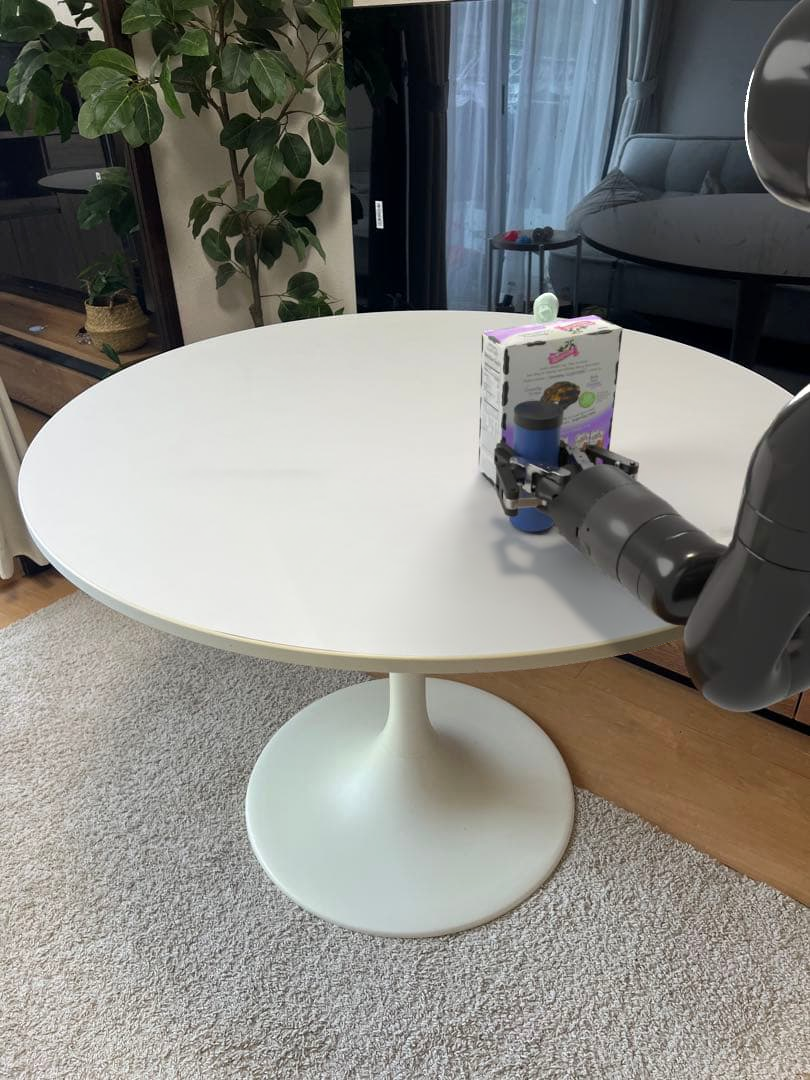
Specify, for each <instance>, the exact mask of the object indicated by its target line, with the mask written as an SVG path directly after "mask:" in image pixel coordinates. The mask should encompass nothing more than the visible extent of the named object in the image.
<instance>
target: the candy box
mask: <svg viewBox="0 0 810 1080" xmlns="http://www.w3.org/2000/svg"><path fill="white" fill-rule="evenodd" d="M623 330H624V329H623V327H622V326H619V325H616V324H615V323H612V322H611V321H608V320H605V319H603V318H601V317H600V316H597V315H595V314H592V315H587V316H580V317H575V318H568V319H561V320H555V321H554V322H546V323H540V324H535V323H534V324H527V325H526V324H525V325H519V326H513V327H506V328H500V329H499V328H498V329H492V330H485V331H482V332H481V355H480V356H481V358H480V359H481V360H480V398H479V399H480V400H479V433H478V434H479V435H478V436H479V439H478V466H477V467H478V471H479V472H480V473H481V474H482V475H483V477H485V479H486V480H487V481H488V482H489V483H490V484H491V485H492V487H494V488H495V483H496V465H495V464H494V449H496V445H497V443H502V442H505V443H506V444H507V445H509V446H510V447H511V448H512V449H513V440H514V421H513V418H514V408H515V406H516V405H518V404H520V403H522V402H527V401H548V402H552V403H555V404H558V405H560V406H561V407H562V408H563V410H564V414H563V423H562V425H561V437H560V439H561V440H562V441H563V442H564V443H566V444H568V445H575V446H577V447H578V448H579V449H580V450H583V449H585V448H586V446H587V445H596V446H599V447H601V448H604V449H606V450H609V451H610V447H611V446H610V445H611V438H612V429H613V420H614V409H615V400H616V391H617V384H618V383H617V382H618V375H619V363H620V357H621V347H622V338H623ZM601 464H603V462H602V460H601V459H600V458H598V457H597V465H601Z"/></svg>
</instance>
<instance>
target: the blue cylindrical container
mask: <svg viewBox="0 0 810 1080" xmlns="http://www.w3.org/2000/svg"><path fill="white" fill-rule="evenodd" d="M563 414H564V410H563V408H562V407H561V406H560V405H558V404H555V403H552V402H548V401H527V402H522V403H520V404H518V405H516V406H515V408H514V418H513V421H514V440H513V449H514V450H515V451H516V452H517V453H518V454H520V455H521V457H522V458H524V459H526V460H529V461H531V462H533V461H535V460H540V461H542V462H544V463H547V464H549V465H551V466H554V467H556V468H558V461H559V449H560V437H561V425H562V423H563ZM525 476H526V474H525V472H524V471H523V476H522V477H524V478H525ZM509 522H510V524H511V525H512V526H513V527H515V528H516V529H519V530H521V531H525V532H542V531H545V530H547V529H550V528H551V527H552V526H553V524H554V521H553V519H552V518H551V517H550V516H548V515H546V514H543V513H541V512H539V511H537V510H536V508H535V507H529V508H519V513H518V515H517V516H514V517H510V516H509Z"/></svg>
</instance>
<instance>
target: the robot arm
mask: <svg viewBox="0 0 810 1080" xmlns="http://www.w3.org/2000/svg"><path fill="white" fill-rule="evenodd" d="M745 101H746V102H745V111H744V124H745V125H744V131H745V141H746V147H747V152H748V157H749V160H750V163H751V166H752V168H753V171H754V173H755V175H756V176H757V179H758V180H759V181H760V183H761V185H762V186H763V188H764V189H765V191H767V192H768V193H769V195H771V196H772V197H773V198H774V199H775V201H776V202H779V203H780V204H782V205H785V206H787V207H789V208H791V209H794V210H796V211H799V212H803V213H808V214H810V0H800V1H799V2H798V3H796V4H795V5H794V6H793V7H792V8H791V9H790V10H789V11H788V13H786V15H784V17H783V18H782V19H781V21H780V22H779V23H778V24H777V26H776V27H775V28H774V30H773V31H772V33H771V35H770V36H769V38H768V40H767V41H766V43H765V44H764V46H763V47H762V50H761V52H760V55H759V57H758V59H757V61H756V64H755V66H754V68H753V71H752V74H751V77H750V81H749V86H748V89H747V95H746V100H745ZM597 457H598V458H600V459H601V460H602V462H603V464H601V465H597ZM748 461H749V462H748V465H747V468H746V472H745V477H744V481H743V485H742V490H741V494H740V499H739V502H738V503H739V504H738V508H737V511H736V517H735V522H734V527H733V532H732V537H731V540H730V541H729V543H728V545H726V544H724V543H723V544H722V543H720V542H718V541H717V540H716V539H715V538H714V537H712V536H711V535H709V534H707V533H706V532H704V530H702V529H701V528H699V527H697V526H696V525H695V524H693V522H690V521H689V520H687V519H686V518H685V517H683V515H681V514H680V512H678V511H677V509H676V508H674V506H672V504H670V503H669V502H668V501H667V500H665V499H664V498H662V497H661V496H659V495H658V494H657V493H655V492H654V491H652V490H651V489H650V488H648V487H647V486H646V485H644V484H643V483H641V482H640V481H639V480H638V474H639V468H640V463H639V462H638V461H636V460H633V459H631V458H628V457H626V456H623V455H620V454H618V453H616V452H614V451H611V450H610V449H609V450H606V449H604V448H601V447H599V446H596V445H587V446H586V448H585V449H583V450H580V449H579V448H578V447H577V446H575V445H568V444H566V443H564V442H563V441H562V440H561V439H560V449H559V461H558V468H556V467H554V466H551V465H549V464H547V463H544V462H542V461H540V460H535V461H533V462H531V461H529V460H526V459H524V458H522V457H521V455H520V454H518V453H517V452H516V451H515V450H514V449H512V448H511V447H510V446H509V445H507V444H506V443H505V442H502V443H497V445H496V449H494V464H495V465H496V483H495V487H494V490H495V492H496V494H497V497H498V500H499V502H500V505H501V507H502V510H503V512H504V514H505V516H507V517H509V518H510V517H514V516H517V515H518V513H519V508H529V507H535V508H536V510H537V511H539V512H541V513H543V514H546V515H548V516H550V517H551V518H552V519H553V524H554V525H555V527H556V528H557V530H558V532H559V533H560V535H561V536H562V537H563V538H564V539H565V540H567V542H569V543H570V544H571V545H572V546H573V547H574V548H575V549H576V550H577V551H579V552H580V554H581V555H583V556H584V557H585V558H586V559H587V560H588V561H590V562H591V563H592V564H593V565H594V566H595V567H596V568H597V569H598V570H599V571H600V572H602V573H603V574H604V575H606V576H607V577H608V578H610V579H611V580H612V581H614V582H616V583H617V584H619V585H620V586H622V587H623V588H624V589H625V590H626V591H628V592H629V593H630V595H632V596H633V597H634V598H635V599H636V600H637V601H638V602H640V603H641V604H642V605H643V606H644V607H645V608H646V609H647V610H649V611H650V612H651V613H652V614H653V615H655V616H656V617H657V618H659V619H660V620H661V621H663V622H665V623H667V624H669V625H670V624H671V625H674V626H680V627H681V626H682V627H683V626H685V627H684V633H683V643H682V645H683V646H682V649H683V657H684V658H683V659H684V663H685V668H686V670H687V674H688V677H689V678H690V680H691V682H692V683H693V685H694V686H695V688H696V689H697V691H698V692H699V693H700V694H701V695H702V696H703V697H704V698H705V699H706V700H707V701H709V702H710V703H711V704H712V705H714V706H716V707H718V708H720V709H723V710H726V711H730V712H735V713H751V712H755V711H759V710H761V709H764V708H768V707H769V706H772V705H774V704H777V703H779V702H781V701H784V700H786V699H788V698H790V697H794V696H795V695H797V694H799V693H802V692H804V691H806V690H809V689H810V382H809V383H808V384H807V385H806V386H804V387H803V388H802V389H801V390H800V391H799V392H798V393H796V395H795V396H793V397H792V398H791V399H790V400H789V401H788V402H787V403H786V404H785V405H783V407H782V408H781V409H779V411H778V412H777V413H776V414H775V415H774V416H773V417H772V419H771V420H770V421H769V423H768V424H767V425H766V427H765V429H763V432H762V433H761V435H760V436H759V438H758V440H757V442H756V444H755V447H754V448H753V450H752V453H751V455H750V459H749V460H748ZM523 471H524V472H525V474H526V476H525V478H524V477H522V476H523Z"/></svg>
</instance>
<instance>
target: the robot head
mask: <svg viewBox="0 0 810 1080" xmlns="http://www.w3.org/2000/svg"><path fill="white" fill-rule="evenodd" d="M559 308H560V304H559V300H558V298H557V297H556V294H554V293H552V292H545V293H542V294H541V295H539V296H538V297H537V298H536V299H535V301H534V303H533V320H534V324H540V323H546V322H554V321H556V319H557V317H558V313H559Z"/></svg>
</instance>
